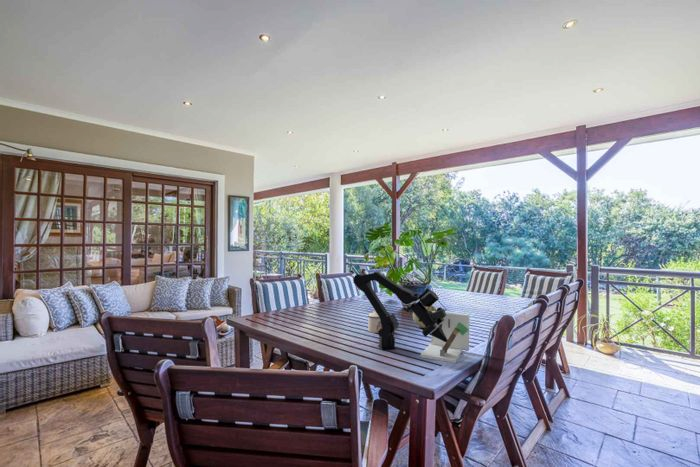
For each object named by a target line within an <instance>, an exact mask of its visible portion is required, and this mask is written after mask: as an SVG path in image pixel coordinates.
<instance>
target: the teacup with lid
mask: <svg viewBox="0 0 700 467" xmlns="http://www.w3.org/2000/svg"><path fill="white" fill-rule="evenodd" d="M367 317H368V319H367V324H368V325H367V331H368V332H369V333H371V334H378V331H379V330H380V329H381V328H382V325H381V322H380V317H379V316H378V314H377V313H376V311H375V310H374V311H373V312H371V313H369V314H368V315H367Z"/></svg>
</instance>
